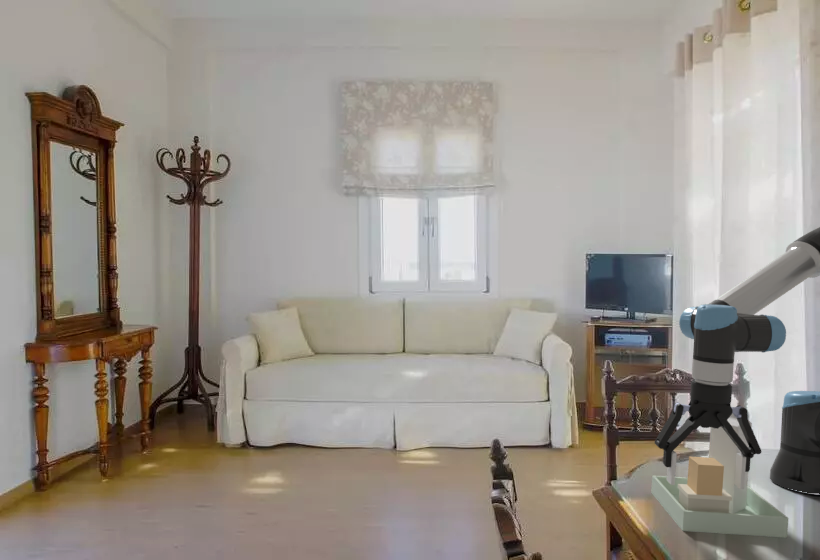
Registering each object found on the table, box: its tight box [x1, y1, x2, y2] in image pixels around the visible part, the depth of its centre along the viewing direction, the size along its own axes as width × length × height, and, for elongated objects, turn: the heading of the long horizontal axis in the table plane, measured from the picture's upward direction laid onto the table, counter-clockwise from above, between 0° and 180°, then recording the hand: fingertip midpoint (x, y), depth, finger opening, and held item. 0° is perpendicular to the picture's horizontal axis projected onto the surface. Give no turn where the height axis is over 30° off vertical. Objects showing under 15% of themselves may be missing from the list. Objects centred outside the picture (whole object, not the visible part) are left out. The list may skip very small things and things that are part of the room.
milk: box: [708, 413, 753, 513], centre depth 139 cm, size 6×6×22 cm
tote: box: [650, 474, 789, 539], centre depth 136 cm, size 20×20×4 cm
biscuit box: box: [687, 456, 724, 496], centre depth 131 cm, size 5×5×6 cm
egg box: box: [678, 484, 732, 513], centre depth 131 cm, size 9×6×7 cm, turn 86°
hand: (704, 484), depth 131 cm, fingers open, 13 cm apart
